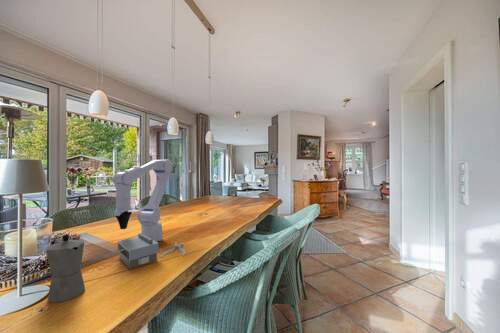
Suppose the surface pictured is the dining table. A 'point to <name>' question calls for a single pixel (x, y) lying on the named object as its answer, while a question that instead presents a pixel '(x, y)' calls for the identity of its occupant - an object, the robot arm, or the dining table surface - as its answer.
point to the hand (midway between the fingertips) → (123, 228)
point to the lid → (139, 246)
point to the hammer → (176, 246)
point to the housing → (136, 262)
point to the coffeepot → (65, 269)
